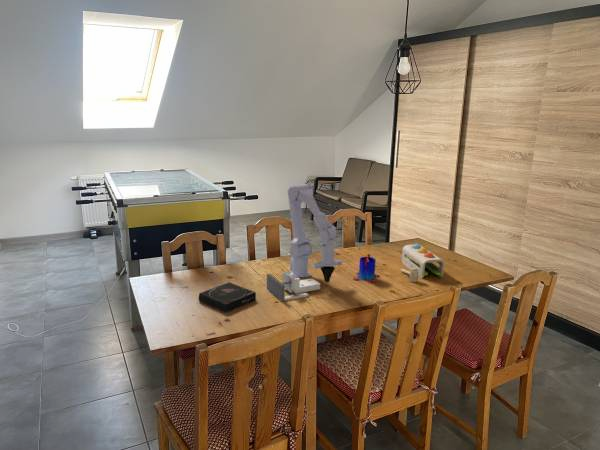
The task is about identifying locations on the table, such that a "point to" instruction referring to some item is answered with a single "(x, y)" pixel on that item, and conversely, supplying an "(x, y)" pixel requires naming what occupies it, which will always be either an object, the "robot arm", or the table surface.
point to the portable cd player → (227, 297)
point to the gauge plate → (288, 282)
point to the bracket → (305, 285)
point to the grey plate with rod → (280, 289)
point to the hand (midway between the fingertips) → (326, 281)
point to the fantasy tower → (367, 270)
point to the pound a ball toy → (420, 262)
